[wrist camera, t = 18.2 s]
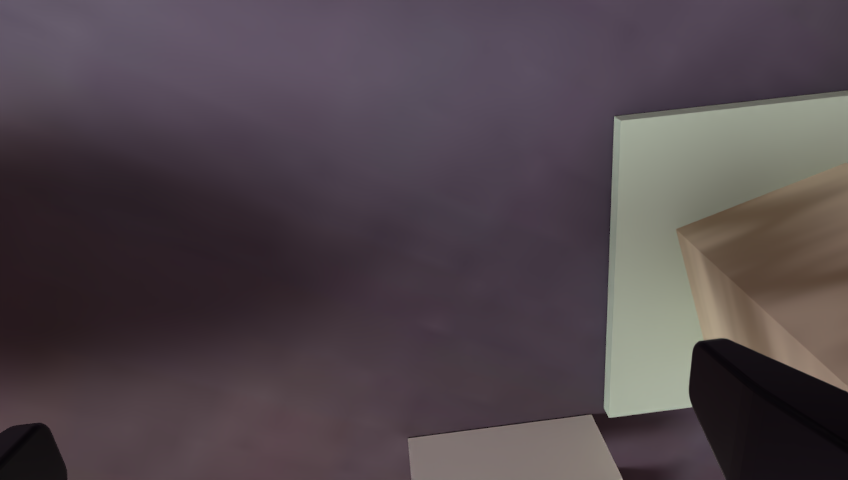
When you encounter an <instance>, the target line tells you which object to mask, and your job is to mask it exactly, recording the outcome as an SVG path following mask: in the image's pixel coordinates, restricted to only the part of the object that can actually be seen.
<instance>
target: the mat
mask: <svg viewBox="0 0 848 480" xmlns="http://www.w3.org/2000/svg"><path fill="white" fill-rule="evenodd" d="M844 163H848V90H846V91H837V92H828V93H819V94H810V95H801V96H792V97H783V98H774V99H765V100H756V101H747V102H738V103H729V104H720V105H711V106H702V107H693V108H684V109H675V110H666V111H657V112H648V113H639V114H630V115H621V116H614V138H613V166H612V193H611V221H610V249H609V277H608V305H607V333H606V361H605V388H604V409H605V411H606V413H607V415H608V417H609V418H612V417H620V416H628V415H635V414H643V413H651V412H659V411H666V410H674V409H682V408H689V407H692V405H691V401H690V397H689V379H690V370H691V360H692V351H693V347H694V345H695V344H696V343H697V342H698V341H702V340H704V339H703V335H702V331H701V327H700V323H699V319H698V315H697V311H696V307H695V303H694V299H693V295H692V291H691V288H690V284H689V280H688V276H687V272H686V268H685V264H684V260H683V256H682V252H681V248H680V244H679V240H678V236H677V232H676V229H677V228H680V227H683V226H685V225H688V224H690V223H693V222H695V221H698V220H700V219H703V218H706V217H708V216H711V215H713V214H716V213H718V212H721V211H724V210H726V209H729V208H731V207H734V206H736V205H739V204H741V203H744V202H747V201H749V200H752V199H754V198H757V197H759V196H762V195H764V194H767V193H770V192H772V191H775V190H777V189H780V188H782V187H785V186H787V185H790V184H793V183H795V182H798V181H800V180H803V179H805V178H808V177H811V176H813V175H816V174H818V173H821V172H823V171H826V170H828V169H831V168H834V167H836V166H839V165H841V164H844Z"/></svg>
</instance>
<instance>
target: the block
mask: <svg viewBox="0 0 848 480" xmlns="http://www.w3.org/2000/svg"><path fill="white" fill-rule="evenodd" d="M676 232H677V236H678V240H679V244H680V248H681V252H682V256H683V260H684V264H685V268H686V272H687V276H688V280H689V284H690V288H691V291H692V295H693V299H694V303H695V307H696V311H697V315H698V319H699V323H700V327H701V331H702V335H703V339H704V340H710V339H718V338H726V339H729V340H731V341H734V342H736V343H738V344H741V345H743V346H745V347H747V348H750V349H752V350H754V351H756V352H759V353H761V354H763V355H765V356H768V357H770V358H772V359H774V360H777V361H779V362H781V363H784V364H786V365H788V366H790V367H793V368H795V369H797V370H799V371H802V372H804V373H806V374H808V375H811V376H813V377H815V378H817V379H820V380H822V381H824V382H826V383H829V384H831V385H833V386H836V387H838V388H840V389H842V390H845V391H847V392H848V163H844V164H841V165H839V166H836V167H834V168H831V169H828V170H826V171H823V172H821V173H818V174H816V175H813V176H811V177H808V178H805V179H803V180H800V181H798V182H795V183H793V184H790V185H787V186H785V187H782V188H780V189H777V190H775V191H772V192H770V193H767V194H764V195H762V196H759V197H757V198H754V199H752V200H749V201H747V202H744V203H741V204H739V205H736V206H734V207H731V208H729V209H726V210H724V211H721V212H718V213H716V214H713V215H711V216H708V217H706V218H703V219H700V220H698V221H695V222H693V223H690V224H688V225H685V226H683V227H680V228H677V229H676Z"/></svg>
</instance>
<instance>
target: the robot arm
mask: <svg viewBox="0 0 848 480" xmlns="http://www.w3.org/2000/svg"><path fill="white" fill-rule="evenodd" d="M689 397H690V401H691V405H692V407H693V409H694V411H695V414H696V416H697V418H698V420H699V422H700V425H701V427H702V429H703V431H704V433H705V435H706V438H707V440H708V442H709V444H710V446H711V449H712V451H713V453H714V455H715V457H716V460H717V462H718V464H719V466H720V468H721V470H722V473H723V475H724V477H725V479H726V480H848V392H847V391H845V390H842V389H840V388H838V387H836V386H833V385H831V384H829V383H826V382H824V381H822V380H820V379H817V378H815V377H813V376H811V375H808V374H806V373H804V372H802V371H799V370H797V369H795V368H793V367H790V366H788V365H786V364H784V363H781V362H779V361H777V360H774V359H772V358H770V357H768V356H765V355H763V354H761V353H759V352H756V351H754V350H752V349H750V348H747V347H745V346H743V345H741V344H738V343H736V342H734V341H731V340H729V339H726V338H718V339H710V340H702V341H698V342H697V343H696V344H695V345H694V347H693V351H692V360H691V370H690V379H689ZM0 480H67V469H66V466H65V463H64V461H63V459H62V456H61V454H60V452H59V449H58V447H57V444H56V442H55V440H54V437H53V435H52V433H51V431H50V429H49V428H48V427H47V426H46V425H45V424H43V423H32V424H24V425H16V426H12V427H9V428H8V429H6V430H5V431H3V432H1V433H0Z"/></svg>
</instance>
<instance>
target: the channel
mask: <svg viewBox="0 0 848 480" xmlns="http://www.w3.org/2000/svg"><path fill="white" fill-rule="evenodd" d="M408 447H409V458H410V469H411V480H623V478H622V476H621V474H620V472H619V470H618V468H617V466H616V464H615V462H614V460H613V458H612V456H611V454H610V452H609V450H608V448H607V445H606V443H605V441H604V439H603V437H602V435H601V433H600V431H599V429H598V427H597V425H596V423H595V421H594V419H593V417H592V415H584V416H576V417H569V418H561V419H553V420H545V421H538V422H530V423H522V424H515V425H507V426H499V427H491V428H484V429H476V430H468V431H461V432H453V433H445V434H437V435H430V436H422V437H414V438H408Z"/></svg>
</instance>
